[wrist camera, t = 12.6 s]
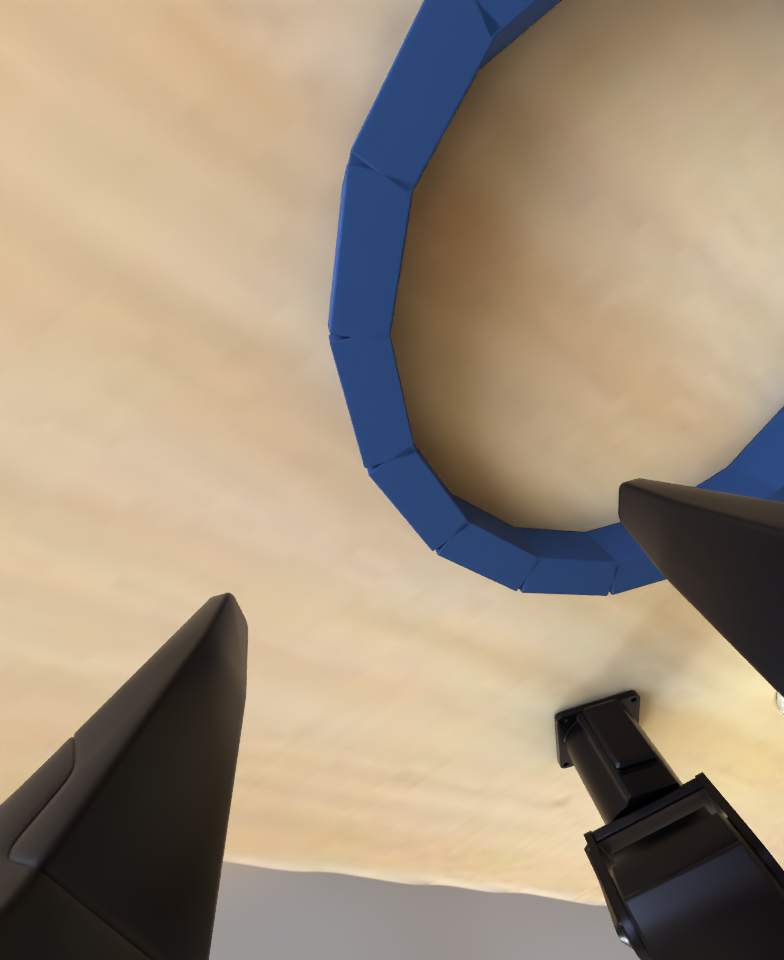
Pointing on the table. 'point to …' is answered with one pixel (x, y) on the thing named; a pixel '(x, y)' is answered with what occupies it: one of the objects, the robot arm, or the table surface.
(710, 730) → the table surface
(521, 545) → the ring
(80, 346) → the table surface
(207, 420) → the table surface
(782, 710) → the coffee can
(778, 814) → the table surface
